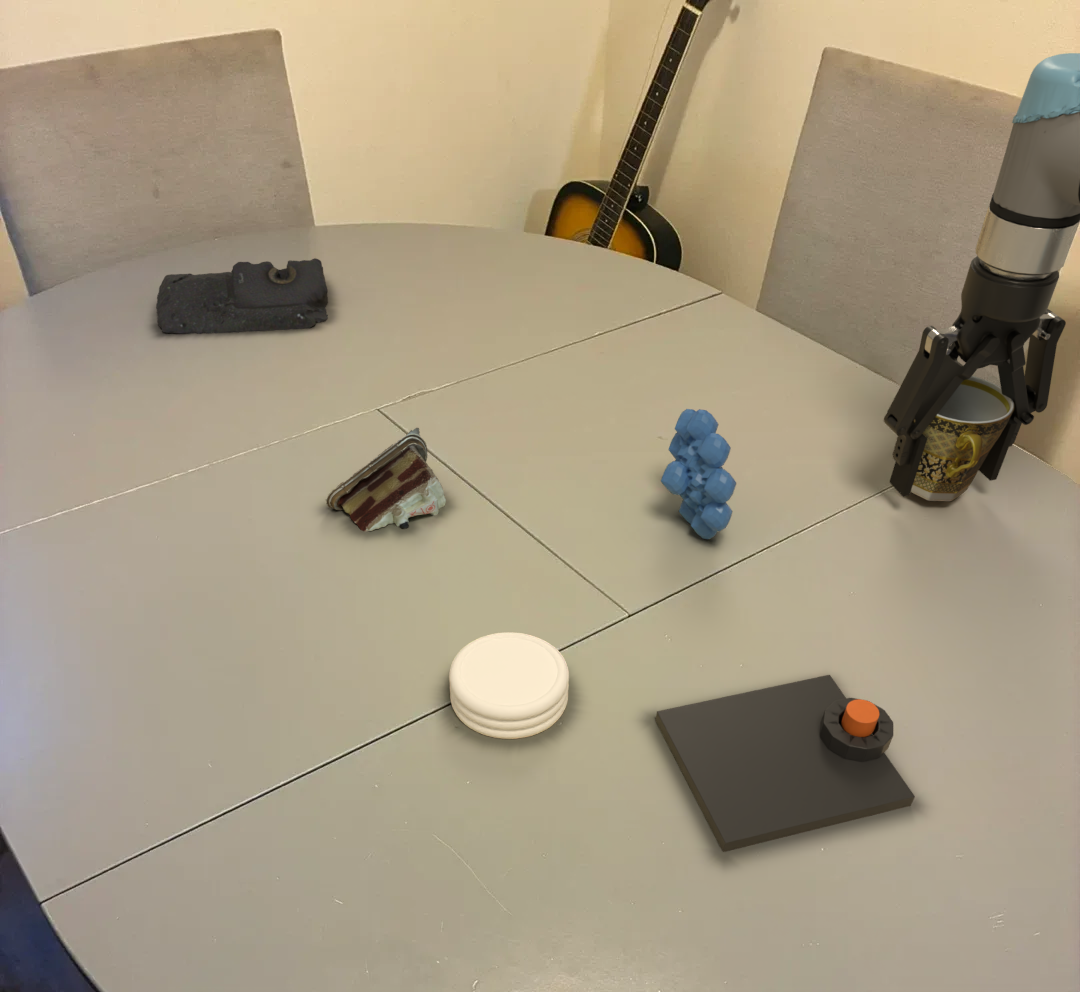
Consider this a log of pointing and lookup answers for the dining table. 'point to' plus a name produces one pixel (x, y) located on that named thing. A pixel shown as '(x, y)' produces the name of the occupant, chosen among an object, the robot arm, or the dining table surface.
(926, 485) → the ceramic cup
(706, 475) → the grapes
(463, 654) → the coaster
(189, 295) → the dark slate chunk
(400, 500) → the chocolate cake
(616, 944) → the dining table surface
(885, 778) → the dark grey flat slab
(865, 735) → the button
